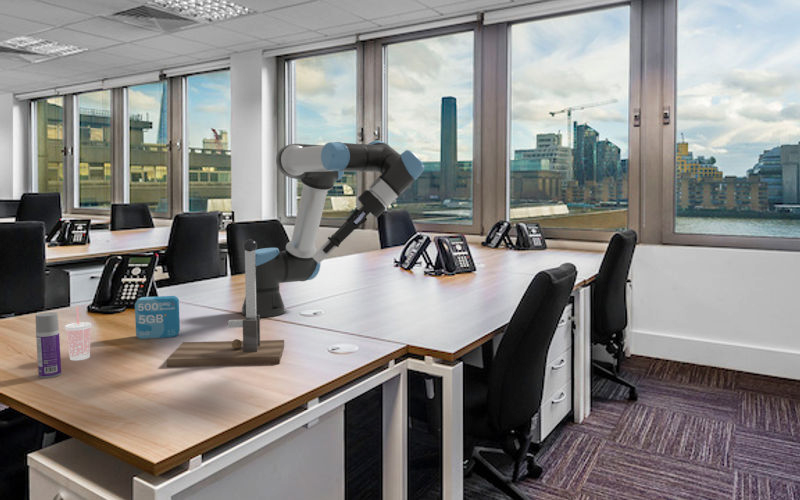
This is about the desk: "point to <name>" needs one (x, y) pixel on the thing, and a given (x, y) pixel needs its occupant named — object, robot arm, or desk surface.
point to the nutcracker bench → (230, 350)
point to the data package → (157, 317)
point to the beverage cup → (78, 339)
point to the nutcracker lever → (248, 283)
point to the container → (48, 345)
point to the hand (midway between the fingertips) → (315, 260)
